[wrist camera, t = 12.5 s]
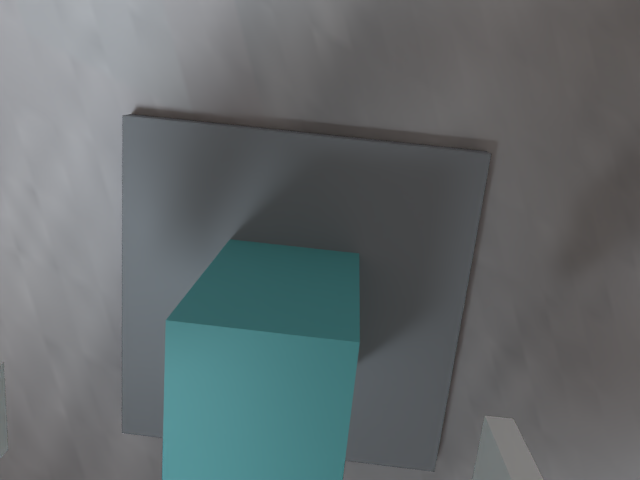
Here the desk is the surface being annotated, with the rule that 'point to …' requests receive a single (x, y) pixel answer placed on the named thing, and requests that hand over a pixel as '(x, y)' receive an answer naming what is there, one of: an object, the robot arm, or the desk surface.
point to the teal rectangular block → (262, 366)
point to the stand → (309, 232)
